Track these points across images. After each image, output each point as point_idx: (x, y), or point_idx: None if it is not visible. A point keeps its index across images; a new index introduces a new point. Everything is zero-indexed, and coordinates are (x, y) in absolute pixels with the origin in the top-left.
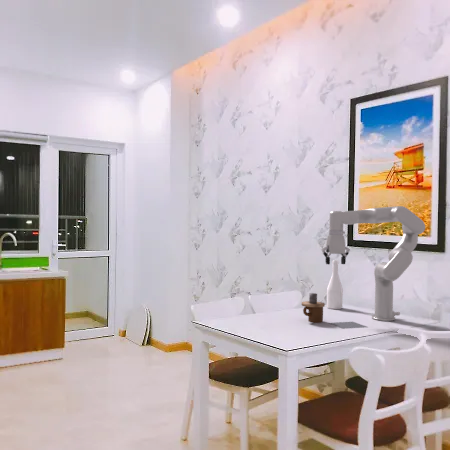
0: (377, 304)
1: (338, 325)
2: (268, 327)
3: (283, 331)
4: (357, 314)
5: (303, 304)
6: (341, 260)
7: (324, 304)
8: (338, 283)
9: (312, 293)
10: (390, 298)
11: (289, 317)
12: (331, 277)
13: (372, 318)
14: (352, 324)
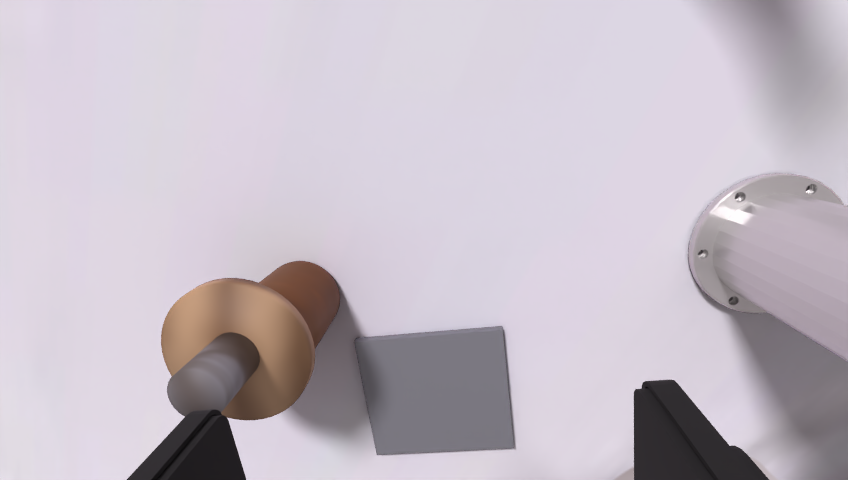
0: (772, 292)
1: (384, 400)
2: (68, 359)
3: (125, 433)
4: (689, 68)
5: (170, 365)
6: (679, 465)
7: (302, 391)
8: None
9: (191, 386)
10: None
11: (194, 137)
12: None
13: (692, 233)
14: (464, 390)
